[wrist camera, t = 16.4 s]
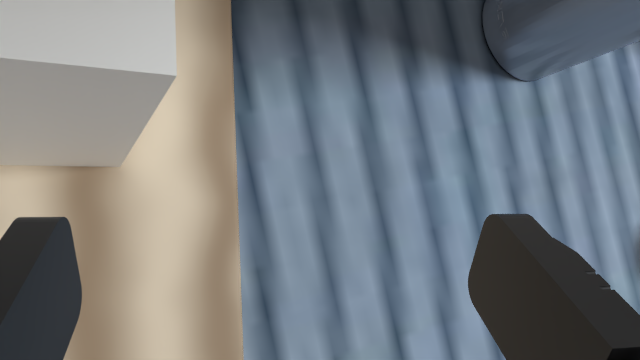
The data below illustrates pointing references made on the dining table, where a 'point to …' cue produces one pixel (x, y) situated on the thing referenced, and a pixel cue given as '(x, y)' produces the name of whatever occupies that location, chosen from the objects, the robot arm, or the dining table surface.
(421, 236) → the dining table surface
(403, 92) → the dining table surface
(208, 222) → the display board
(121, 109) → the carton
